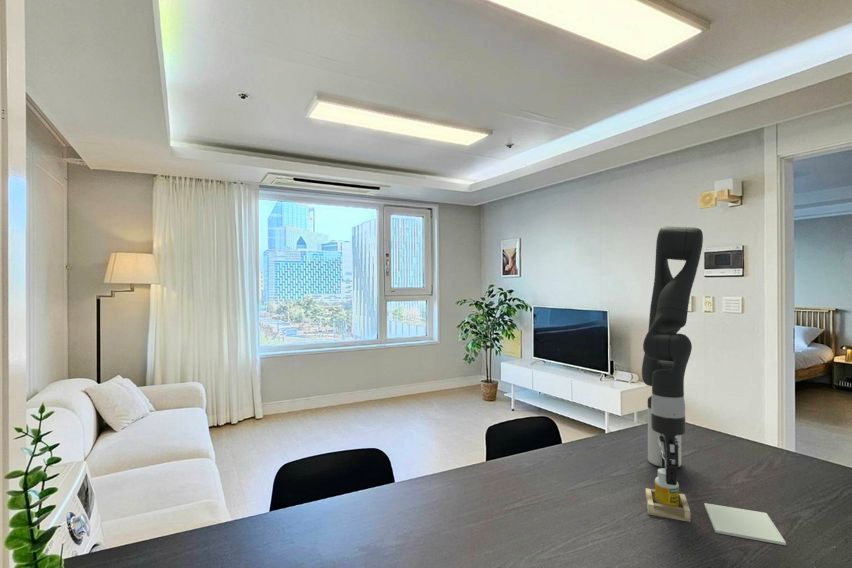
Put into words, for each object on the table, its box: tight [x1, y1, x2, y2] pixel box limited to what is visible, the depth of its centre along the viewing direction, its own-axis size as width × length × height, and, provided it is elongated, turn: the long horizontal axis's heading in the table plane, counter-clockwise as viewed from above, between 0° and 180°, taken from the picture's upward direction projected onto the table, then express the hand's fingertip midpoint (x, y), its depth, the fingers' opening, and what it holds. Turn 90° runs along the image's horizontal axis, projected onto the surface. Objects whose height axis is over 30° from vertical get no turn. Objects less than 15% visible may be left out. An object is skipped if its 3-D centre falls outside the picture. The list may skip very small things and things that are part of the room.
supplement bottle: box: [654, 467, 680, 507], centre depth 110 cm, size 5×5×10 cm
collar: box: [645, 487, 691, 523], centre depth 110 cm, size 9×9×2 cm
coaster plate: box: [703, 502, 787, 546], centre depth 103 cm, size 13×13×1 cm
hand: (668, 477), depth 110 cm, fingers open, 8 cm apart
